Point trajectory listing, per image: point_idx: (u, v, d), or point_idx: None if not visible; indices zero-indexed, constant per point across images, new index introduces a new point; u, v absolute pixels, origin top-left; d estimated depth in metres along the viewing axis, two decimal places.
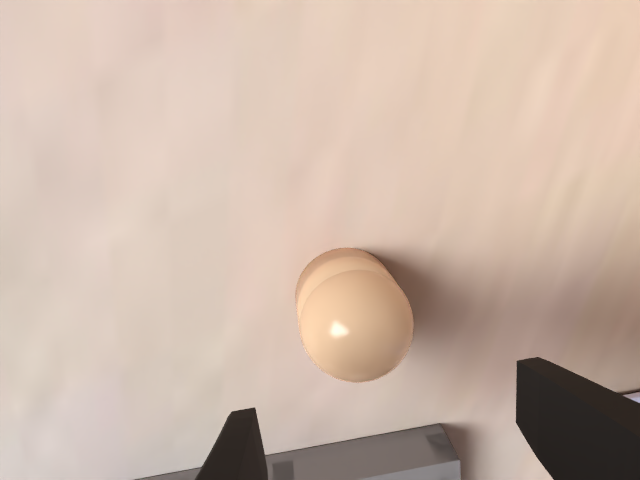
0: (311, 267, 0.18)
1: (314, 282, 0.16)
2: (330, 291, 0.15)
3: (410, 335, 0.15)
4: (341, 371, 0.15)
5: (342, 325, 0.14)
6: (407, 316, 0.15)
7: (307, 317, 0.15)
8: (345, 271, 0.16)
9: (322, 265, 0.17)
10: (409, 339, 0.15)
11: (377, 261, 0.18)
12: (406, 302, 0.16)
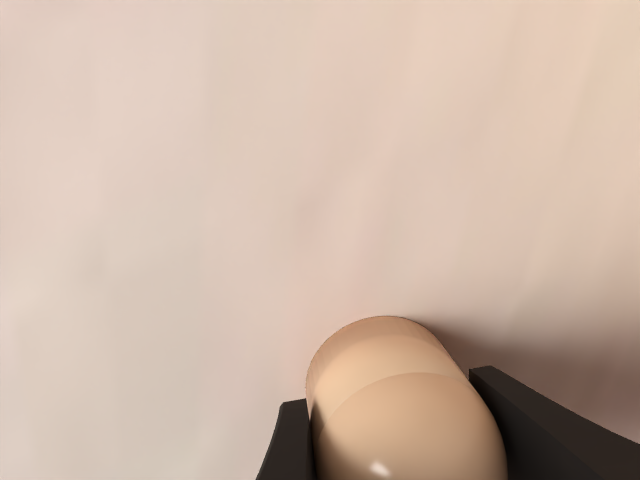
0: (330, 349, 0.12)
1: (339, 387, 0.10)
2: (370, 418, 0.09)
3: None
4: None
5: None
6: (502, 459, 0.09)
7: (330, 460, 0.09)
8: (392, 375, 0.10)
9: (350, 352, 0.11)
10: None
11: (433, 340, 0.12)
12: (497, 430, 0.09)
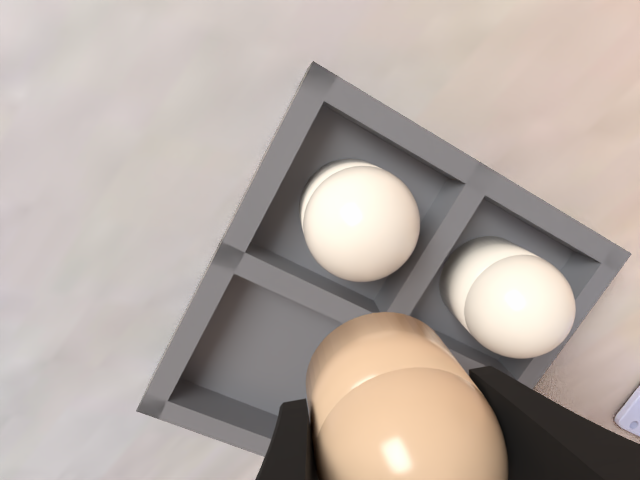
0: (332, 344, 0.12)
1: (340, 381, 0.10)
2: (372, 412, 0.09)
3: None
4: None
5: None
6: (503, 455, 0.09)
7: (331, 453, 0.09)
8: (394, 370, 0.10)
9: (351, 347, 0.11)
10: None
11: (435, 337, 0.12)
12: (498, 426, 0.09)
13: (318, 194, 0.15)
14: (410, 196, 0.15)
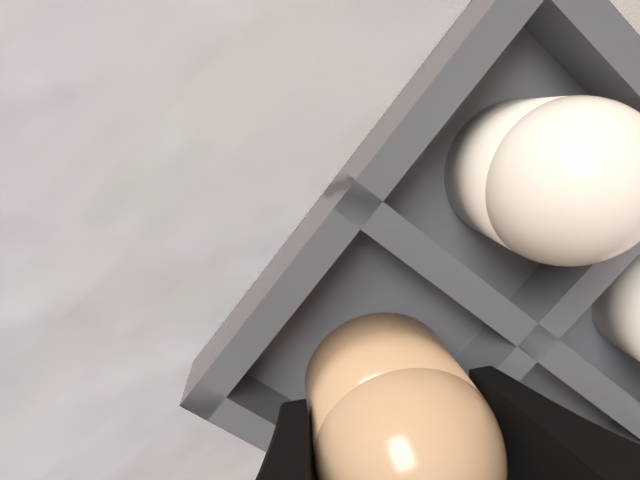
0: (331, 344, 0.12)
1: (340, 381, 0.10)
2: (371, 413, 0.09)
3: None
4: None
5: None
6: (502, 456, 0.09)
7: (330, 454, 0.09)
8: (393, 370, 0.09)
9: (350, 347, 0.11)
10: None
11: (434, 337, 0.12)
12: (497, 426, 0.09)
13: (534, 123, 0.10)
14: None
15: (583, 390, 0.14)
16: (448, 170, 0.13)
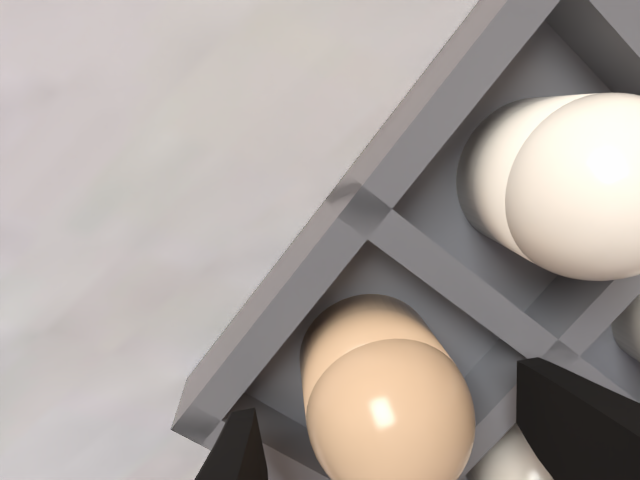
0: (322, 321, 0.13)
1: (329, 352, 0.11)
2: (355, 376, 0.10)
3: (473, 441, 0.10)
4: None
5: (376, 436, 0.09)
6: (470, 414, 0.10)
7: (319, 412, 0.10)
8: (376, 341, 0.11)
9: (339, 323, 0.12)
10: (472, 447, 0.10)
11: (415, 315, 0.13)
12: (466, 389, 0.11)
13: (562, 124, 0.09)
14: None
15: None
16: (461, 174, 0.12)
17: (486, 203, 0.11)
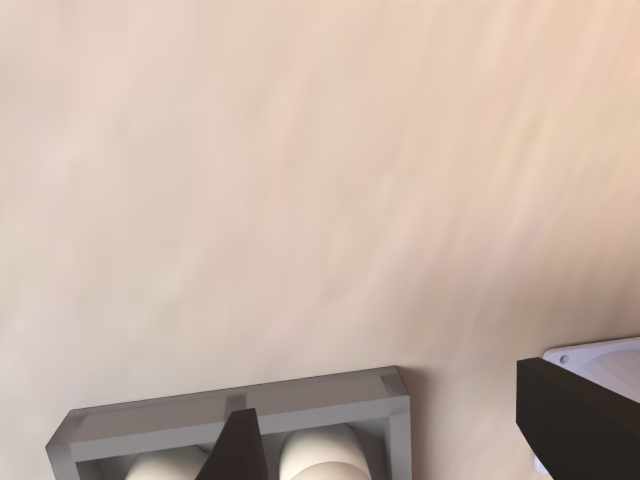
0: None
1: None
2: None
3: None
4: None
5: None
6: None
7: None
8: None
9: None
10: None
11: None
12: None
13: None
14: None
15: None
16: None
17: None
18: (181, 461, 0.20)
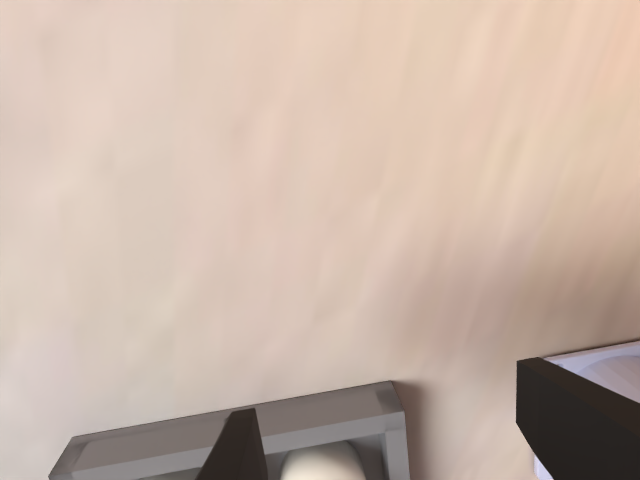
0: None
1: None
2: None
3: None
4: None
5: None
6: None
7: None
8: None
9: None
10: None
11: None
12: None
13: None
14: None
15: None
16: None
17: None
18: None
